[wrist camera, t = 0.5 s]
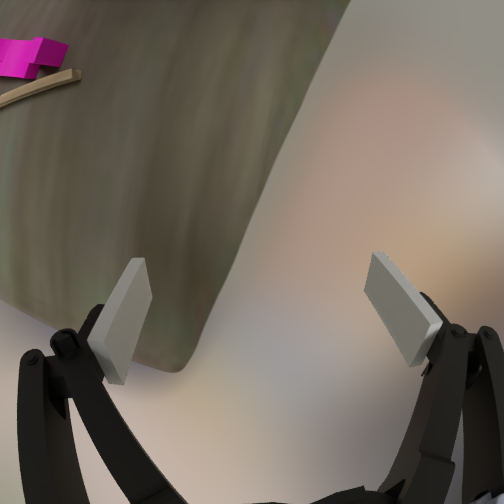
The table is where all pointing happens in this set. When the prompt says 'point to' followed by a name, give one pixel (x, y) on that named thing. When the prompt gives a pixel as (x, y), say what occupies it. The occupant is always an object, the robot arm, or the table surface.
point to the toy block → (29, 56)
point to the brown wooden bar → (41, 85)
